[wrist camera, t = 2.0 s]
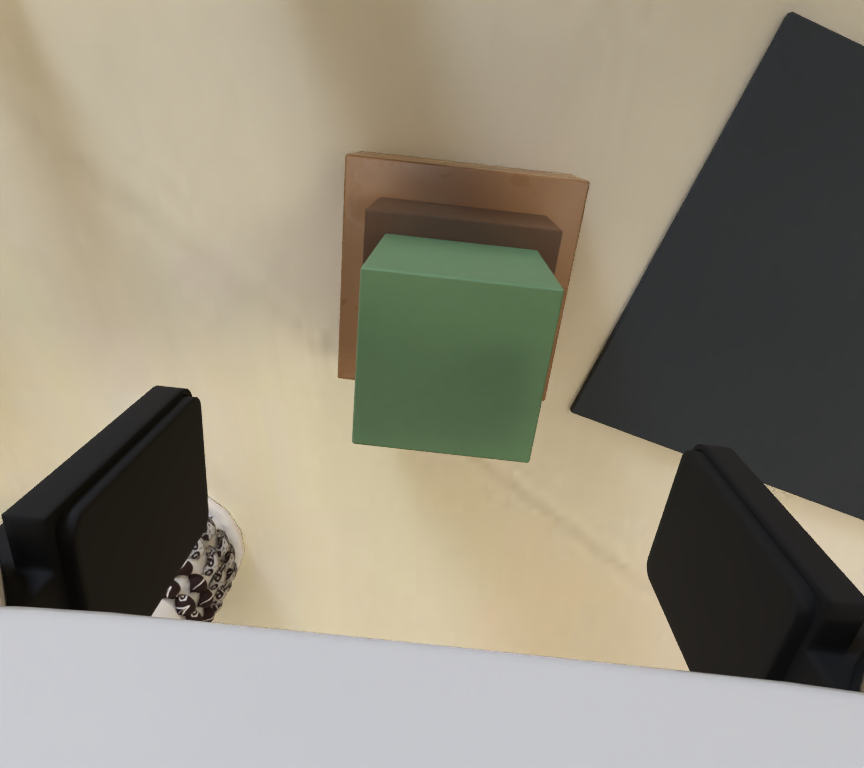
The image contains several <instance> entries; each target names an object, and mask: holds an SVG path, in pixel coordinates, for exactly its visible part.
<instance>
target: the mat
mask: <svg viewBox="0 0 864 768" xmlns="http://www.w3.org/2000/svg"><path fill="white" fill-rule="evenodd" d="M571 412H572V413H575V414H578V415H580V416H583V417H586V418H589V419H591V420H594V421H597V422H599V423H602V424H605V425H607V426H610V427H613V428H616V429H618V430H621V431H624V432H626V433H629V434H632V435H635V436H637V437H640V438H643V439H645V440H648V441H651V442H653V443H656V444H659V445H662V446H664V447H667V448H670V449H672V450H675V451H678V452H681V453H683V454H684V452H685V451H687V450H691V451H692V449H693V448H694V447H695V446H696V445H698V444H704V445H713V446H722V447H730V448H731V449H733V450H734V451H735V453H736V454H737V455H738V456H739V457H740V458H741V459H742V460H743V461H744V463H745V464H746V465H747V466H748V467H749V468H750V469H751V470H752V472H753V473H754V474H755V475H756V476H757V477H758V478H759V479H760V480H761V482H762V483H764V484H767V485H770V486H773V487H775V488H778V489H781V490H783V491H786V492H789V493H791V494H794V495H797V496H800V497H802V498H805V499H808V500H810V501H813V502H816V503H819V504H821V505H824V506H827V507H829V508H832V509H835V510H838V511H840V512H843V513H846V514H848V515H851V516H854V517H856V518H859V519H862V520H864V46H862V45H860V44H858V43H856V42H854V41H852V40H850V39H848V38H846V37H844V36H842V35H839V34H837V33H835V32H833V31H831V30H829V29H827V28H825V27H823V26H821V25H819V24H817V23H814V22H812V21H810V20H808V19H806V18H804V17H802V16H800V15H798V14H796V13H794V12H791V13H788V14H787V16H786V17H785V19H784V21H783V23H782V25H781V26H780V28H779V30H778V32H777V34H776V36H775V37H774V39H773V41H772V43H771V45H770V46H769V48H768V50H767V52H766V54H765V56H764V57H763V59H762V61H761V63H760V65H759V67H758V68H757V70H756V72H755V74H754V76H753V77H752V79H751V81H750V83H749V85H748V87H747V88H746V90H745V92H744V94H743V96H742V98H741V99H740V101H739V103H738V105H737V107H736V108H735V110H734V112H733V114H732V116H731V118H730V119H729V121H728V123H727V125H726V127H725V128H724V130H723V132H722V134H721V136H720V138H719V139H718V141H717V143H716V145H715V147H714V149H713V150H712V152H711V154H710V156H709V158H708V159H707V161H706V163H705V165H704V167H703V169H702V170H701V172H700V174H699V176H698V178H697V180H696V181H695V183H694V185H693V187H692V189H691V190H690V192H689V194H688V196H687V198H686V200H685V201H684V203H683V205H682V207H681V209H680V210H679V212H678V214H677V216H676V218H675V220H674V221H673V223H672V225H671V227H670V229H669V231H668V232H667V234H666V236H665V238H664V240H663V241H662V243H661V245H660V247H659V249H658V251H657V252H656V254H655V256H654V258H653V260H652V262H651V263H650V265H649V267H648V269H647V271H646V272H645V274H644V276H643V278H642V280H641V282H640V283H639V285H638V287H637V289H636V291H635V293H634V294H633V296H632V298H631V300H630V302H629V303H628V305H627V307H626V309H625V311H624V313H623V314H622V316H621V318H620V320H619V322H618V323H617V325H616V327H615V329H614V331H613V333H612V334H611V336H610V338H609V340H608V342H607V344H606V345H605V347H604V349H603V351H602V353H601V354H600V356H599V358H598V360H597V362H596V364H595V365H594V367H593V369H592V371H591V373H590V375H589V376H588V378H587V380H586V382H585V384H584V385H583V387H582V389H581V391H580V393H579V395H578V396H577V398H576V400H575V402H574V404H573V405H572V407H571Z"/></svg>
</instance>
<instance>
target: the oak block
mask: <svg viewBox="0 0 864 768" xmlns="http://www.w3.org/2000/svg"><path fill="white" fill-rule="evenodd" d="M589 184H590V183H589V181H586V180H584V179H581V178H578V177H576V176H573V175H570V174H561V173H552V172H543V171H534V170H525V169H516V168H507V167H498V166H489V165H480V164H471V163H463V162H454V161H445V160H436V159H427V158H418V157H409V156H400V155H391V154H382V153H373V152H364V151H361V152H356V153H351V154H347V155H346V156H345V183H344V212H343V241H342V270H341V298H340V327H339V356H338V378H343V379H352V380H355V373H356V352H357V332H358V311H359V291H360V271H361V267H362V264H363V244H364V224H365V210H366V208H368V207H369V206H370V205H371V204H372V203H374V202H375V201H376V200H377V199H378V198H380V197H385V198H393V199H402V200H411V201H420V202H429V203H438V204H447V205H456V206H465V207H474V208H483V209H492V210H501V211H510V212H519V213H528V214H537V215H546V216H547V217H548V218H549V219H550V220H551V221H552V222H553V223H555V224H556V225H557V226H558V227H559V228H560V229H561V230H562V231H563V234H562V239H561V244H560V249H559V254H558V259H557V264H556V269H555V275H554V276H555V277H556V279H557V280H558V282H559V283H560V285H561V286H562V288H563V289H564V295H563V300H562V305H561V310H560V314H559V319H558V324H557V329H556V334H555V339H554V344H553V349H552V353H551V358H550V363H549V368H548V373H547V378H546V383H545V388H544V393H543V397H542V401H544V400H545V396H546V391H547V387H548V382H549V377H550V372H551V367H552V362H553V358H554V353H555V348H556V343H557V338H558V333H559V329H560V324H561V319H562V314H563V309H564V304H565V300H566V295H567V290H568V285H569V280H570V276H571V271H572V266H573V261H574V256H575V251H576V247H577V242H578V237H579V232H580V227H581V222H582V218H583V213H584V208H585V203H586V198H587V193H588V189H589Z"/></svg>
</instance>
